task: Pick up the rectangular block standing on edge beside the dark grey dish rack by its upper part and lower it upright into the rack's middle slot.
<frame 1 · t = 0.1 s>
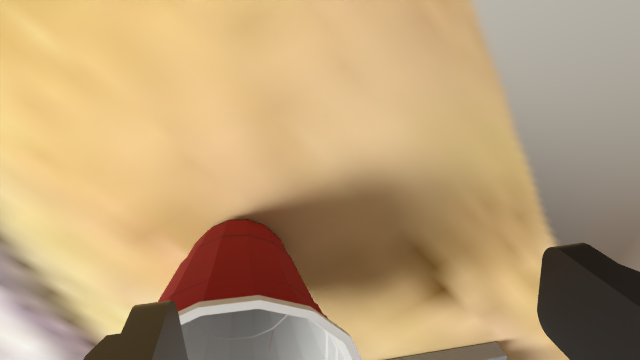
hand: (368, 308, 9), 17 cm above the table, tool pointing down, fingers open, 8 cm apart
plastic cup: (243, 258, 28), on the table
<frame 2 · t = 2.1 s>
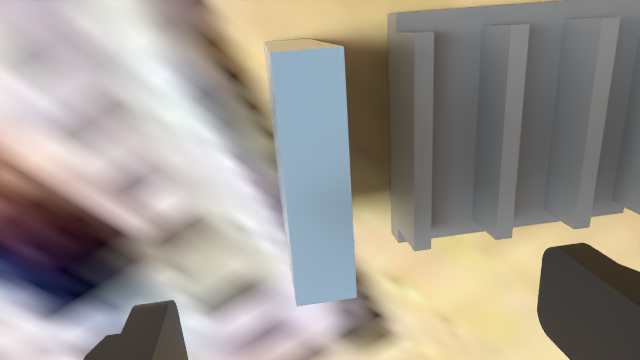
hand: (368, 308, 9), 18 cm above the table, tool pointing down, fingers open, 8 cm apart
dish rack: (509, 119, 29), on the table
rectangular block: (293, 126, 27), on the table
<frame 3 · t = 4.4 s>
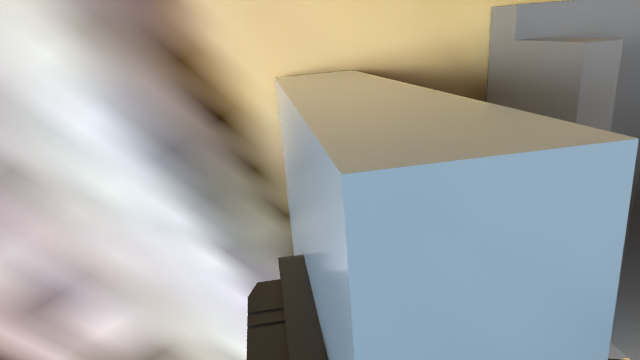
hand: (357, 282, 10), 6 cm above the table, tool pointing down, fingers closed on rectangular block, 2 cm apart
rectangular block: (326, 219, 15), on the table, touching gripper
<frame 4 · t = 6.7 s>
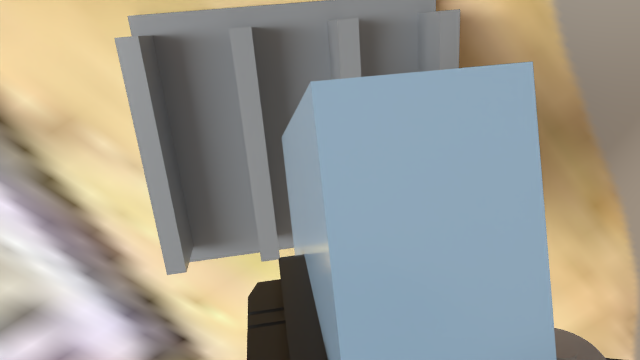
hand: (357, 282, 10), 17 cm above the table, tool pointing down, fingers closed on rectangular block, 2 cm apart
dish rack: (297, 129, 26), on the table
rectangular block: (331, 271, 16), point 12 cm above the table, tilted 16°, touching gripper
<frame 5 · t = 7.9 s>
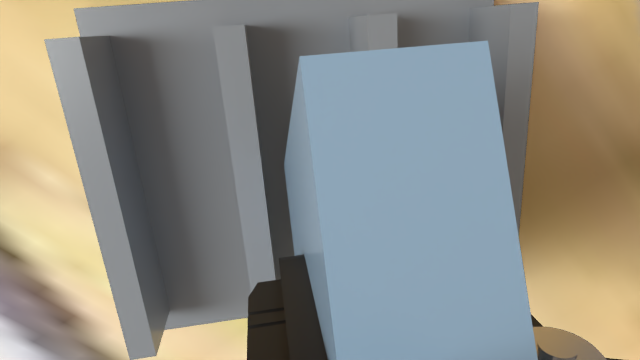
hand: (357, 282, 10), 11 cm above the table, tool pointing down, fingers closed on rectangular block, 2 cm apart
dish rack: (306, 159, 20), on the table
rectangular block: (333, 294, 16), point 6 cm above the table, tilted 24°, touching gripper
when the fingers open (8 cm above the table, at t = 9.0 s): rectangular block drops 2 cm, resting on dish rack.
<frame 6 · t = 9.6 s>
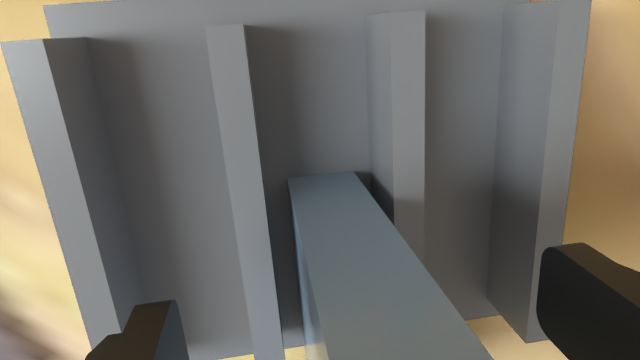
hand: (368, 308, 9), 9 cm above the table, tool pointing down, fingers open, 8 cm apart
dish rack: (313, 176, 18), on the table
rectangular block: (329, 290, 18), point 2 cm above the table, touching dish rack
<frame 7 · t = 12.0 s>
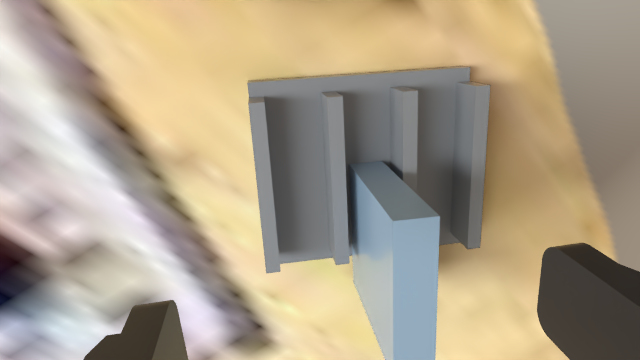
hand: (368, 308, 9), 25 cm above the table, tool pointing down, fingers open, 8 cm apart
dish rack: (360, 164, 35), on the table
rectangular block: (367, 223, 34), point 1 cm above the table, touching dish rack
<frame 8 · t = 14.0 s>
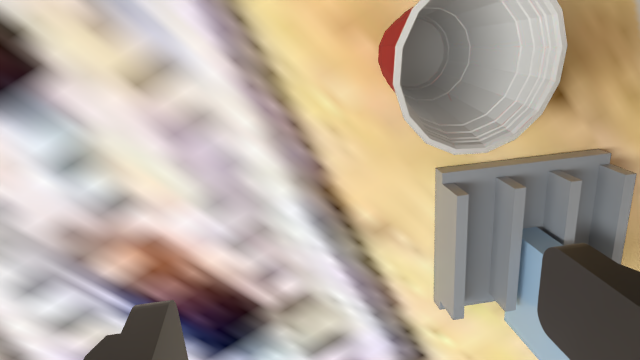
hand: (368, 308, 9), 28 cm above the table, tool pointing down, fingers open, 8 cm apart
plastic cup: (413, 54, 36), on the table
dish rack: (513, 227, 43), on the table
rectangular block: (519, 274, 43), point 1 cm above the table, touching dish rack
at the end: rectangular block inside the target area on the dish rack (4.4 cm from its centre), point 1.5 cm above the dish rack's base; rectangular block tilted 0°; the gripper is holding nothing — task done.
